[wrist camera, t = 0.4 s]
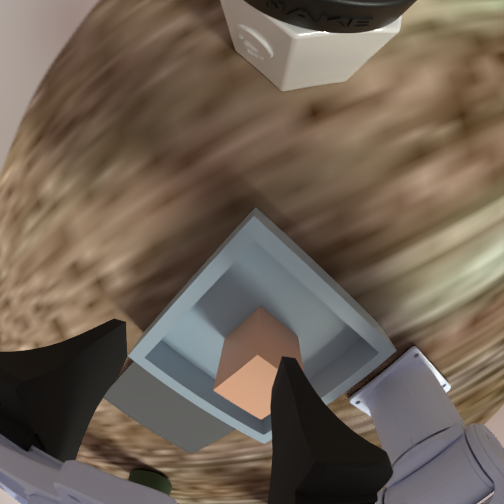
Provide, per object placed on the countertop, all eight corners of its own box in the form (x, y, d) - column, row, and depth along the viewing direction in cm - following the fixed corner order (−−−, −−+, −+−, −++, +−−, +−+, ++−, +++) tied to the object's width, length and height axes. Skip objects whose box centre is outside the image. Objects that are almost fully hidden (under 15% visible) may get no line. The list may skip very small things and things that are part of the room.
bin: (381, 326, 22) (396, 350, 19) (264, 416, 26) (263, 443, 22) (255, 206, 20) (253, 215, 17) (143, 332, 23) (127, 355, 20)
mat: (249, 416, 26) (249, 420, 25) (192, 451, 28) (191, 454, 28) (146, 346, 24) (144, 349, 23) (103, 393, 26) (102, 396, 26)
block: (298, 336, 22) (306, 389, 16) (262, 366, 23) (260, 419, 17) (259, 305, 22) (257, 354, 16) (224, 338, 23) (212, 390, 17)
